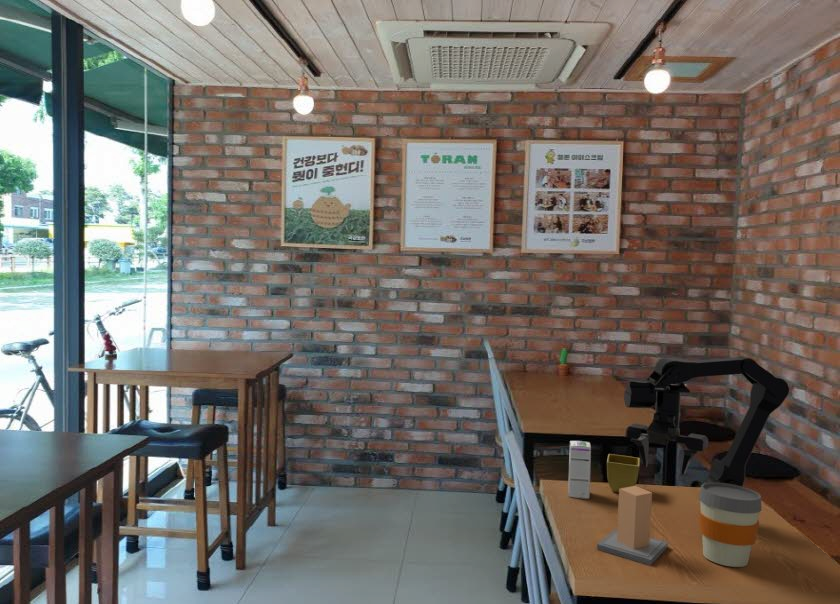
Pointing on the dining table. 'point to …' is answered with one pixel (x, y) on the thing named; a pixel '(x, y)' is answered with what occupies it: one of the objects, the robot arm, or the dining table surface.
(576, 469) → the syrup box
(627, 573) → the dining table surface
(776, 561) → the dining table surface
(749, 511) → the reusable coffee cup
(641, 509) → the block
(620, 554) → the plate
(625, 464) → the flower pot
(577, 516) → the dining table surface
